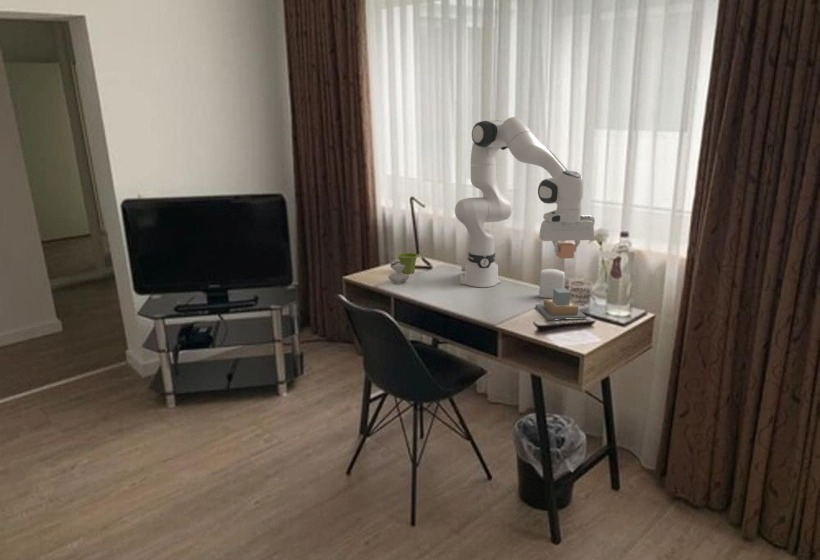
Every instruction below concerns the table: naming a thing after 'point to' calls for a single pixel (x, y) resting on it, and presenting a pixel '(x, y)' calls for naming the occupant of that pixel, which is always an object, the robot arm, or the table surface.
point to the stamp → (398, 274)
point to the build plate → (552, 317)
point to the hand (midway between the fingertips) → (565, 251)
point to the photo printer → (551, 282)
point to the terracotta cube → (565, 250)
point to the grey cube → (561, 296)
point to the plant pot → (408, 262)
